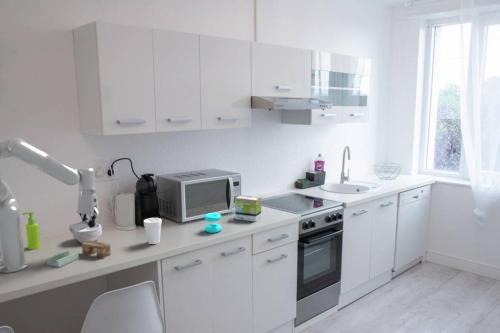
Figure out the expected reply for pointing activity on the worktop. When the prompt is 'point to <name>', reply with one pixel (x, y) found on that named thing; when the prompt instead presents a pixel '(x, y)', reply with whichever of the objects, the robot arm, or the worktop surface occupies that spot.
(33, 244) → the soap dispenser
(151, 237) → the foam cup
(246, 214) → the tea box
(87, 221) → the axle
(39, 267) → the worktop surface
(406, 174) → the worktop surface
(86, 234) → the paper bowls
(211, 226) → the donuts
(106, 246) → the brown wooden block
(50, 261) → the cradle
